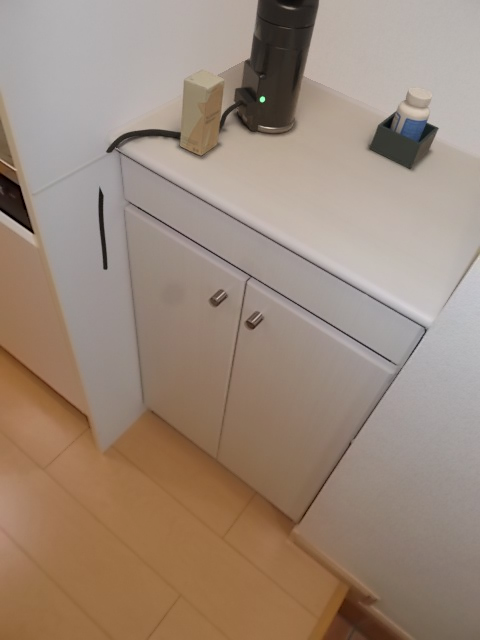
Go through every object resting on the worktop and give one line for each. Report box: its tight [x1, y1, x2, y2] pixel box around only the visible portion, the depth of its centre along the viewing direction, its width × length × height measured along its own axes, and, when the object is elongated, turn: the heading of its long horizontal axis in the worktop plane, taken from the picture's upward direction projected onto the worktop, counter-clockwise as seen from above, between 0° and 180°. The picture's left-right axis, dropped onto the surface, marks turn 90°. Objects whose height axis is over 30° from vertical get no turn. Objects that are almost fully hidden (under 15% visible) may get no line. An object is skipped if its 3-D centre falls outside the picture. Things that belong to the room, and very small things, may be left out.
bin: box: [369, 111, 440, 169], centre depth 91 cm, size 8×8×5 cm
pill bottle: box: [390, 86, 433, 142], centre depth 89 cm, size 6×5×10 cm
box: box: [179, 69, 226, 156], centre depth 82 cm, size 5×4×11 cm
